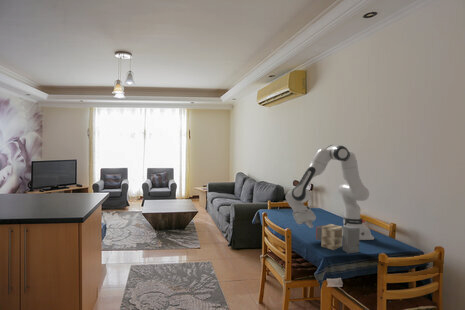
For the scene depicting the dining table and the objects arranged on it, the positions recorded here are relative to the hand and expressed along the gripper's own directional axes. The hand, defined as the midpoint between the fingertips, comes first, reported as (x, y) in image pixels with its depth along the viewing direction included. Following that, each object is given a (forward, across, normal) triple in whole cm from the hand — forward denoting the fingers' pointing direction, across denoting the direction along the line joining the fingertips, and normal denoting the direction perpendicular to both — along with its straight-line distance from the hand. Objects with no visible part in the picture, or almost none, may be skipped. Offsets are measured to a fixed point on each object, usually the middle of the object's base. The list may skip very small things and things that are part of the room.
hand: (311, 227), depth 215 cm
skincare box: (+27, +2, -13) cm, 30 cm away
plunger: (+11, 0, -2) cm, 11 cm away
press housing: (+18, 0, -4) cm, 19 cm away
